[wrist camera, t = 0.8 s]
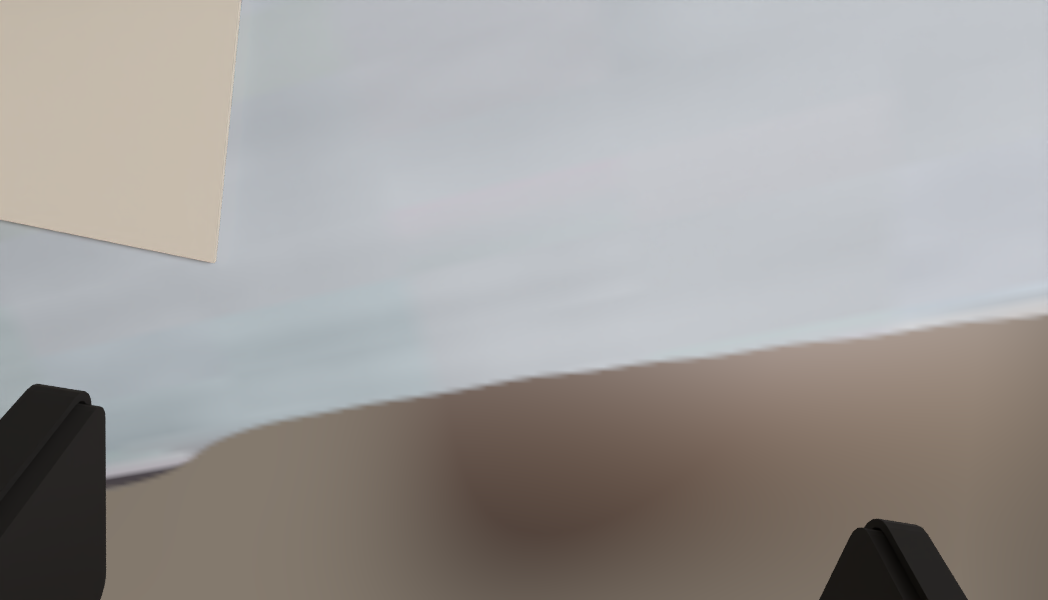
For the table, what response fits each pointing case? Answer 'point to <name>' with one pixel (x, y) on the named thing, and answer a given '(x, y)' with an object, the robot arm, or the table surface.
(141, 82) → the mat
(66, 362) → the table surface
